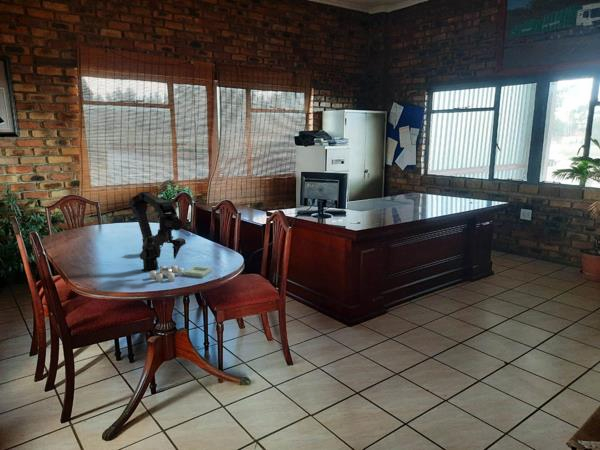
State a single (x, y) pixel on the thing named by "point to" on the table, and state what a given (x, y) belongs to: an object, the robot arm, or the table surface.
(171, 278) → the nylon spacers
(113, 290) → the table surface
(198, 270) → the parts tray
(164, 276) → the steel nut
